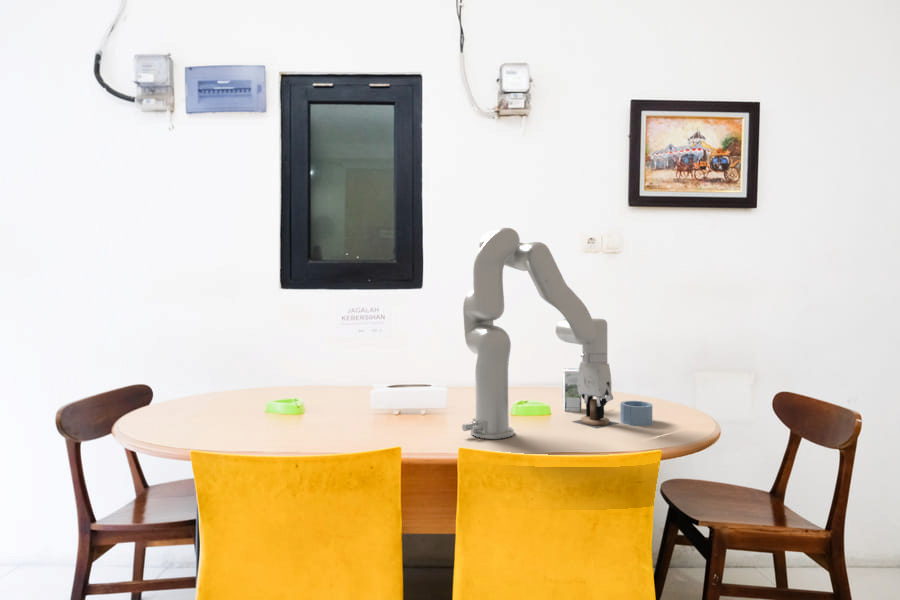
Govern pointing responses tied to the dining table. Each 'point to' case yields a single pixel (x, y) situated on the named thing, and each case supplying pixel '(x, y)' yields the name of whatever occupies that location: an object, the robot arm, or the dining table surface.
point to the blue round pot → (636, 413)
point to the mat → (596, 426)
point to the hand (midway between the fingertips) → (595, 416)
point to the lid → (592, 419)
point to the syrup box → (571, 390)
